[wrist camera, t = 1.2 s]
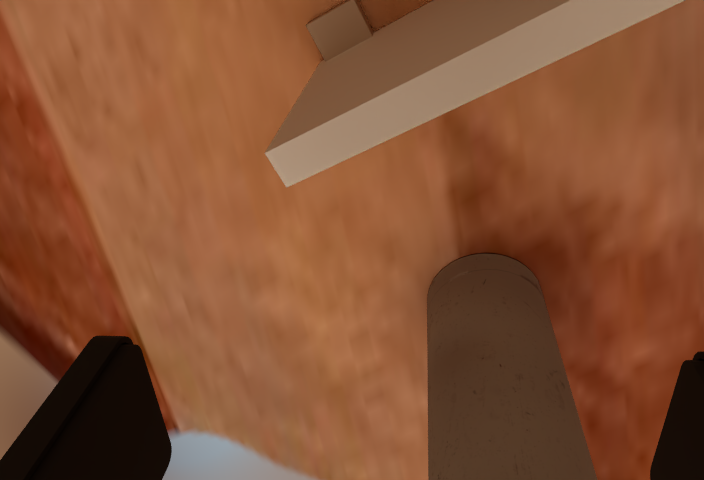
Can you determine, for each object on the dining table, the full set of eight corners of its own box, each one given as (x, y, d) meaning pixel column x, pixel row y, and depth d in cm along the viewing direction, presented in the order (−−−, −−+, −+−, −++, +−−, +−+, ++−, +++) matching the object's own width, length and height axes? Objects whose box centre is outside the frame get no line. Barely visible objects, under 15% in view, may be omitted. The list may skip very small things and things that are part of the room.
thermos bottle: (558, 321, 42) (739, 899, 18) (455, 356, 44) (492, 899, 20) (515, 235, 39) (665, 797, 15) (407, 278, 41) (385, 813, 17)
